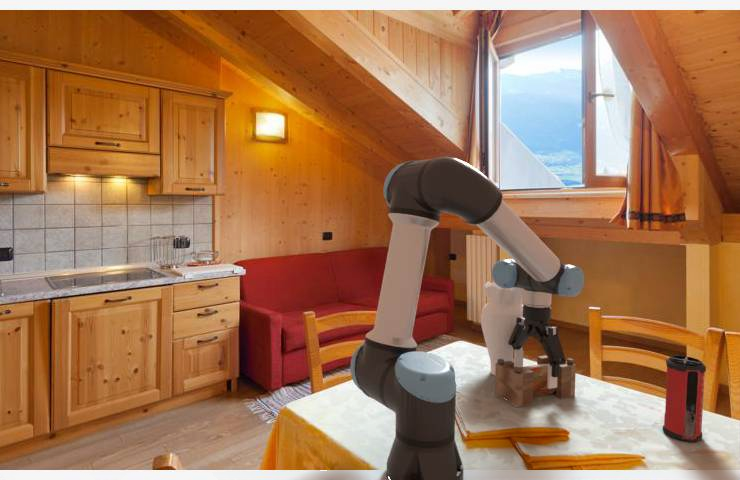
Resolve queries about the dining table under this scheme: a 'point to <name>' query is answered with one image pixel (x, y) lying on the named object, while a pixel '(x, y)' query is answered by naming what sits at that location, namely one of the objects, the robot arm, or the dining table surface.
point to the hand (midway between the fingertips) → (534, 379)
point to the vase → (500, 321)
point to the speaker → (684, 398)
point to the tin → (539, 379)
